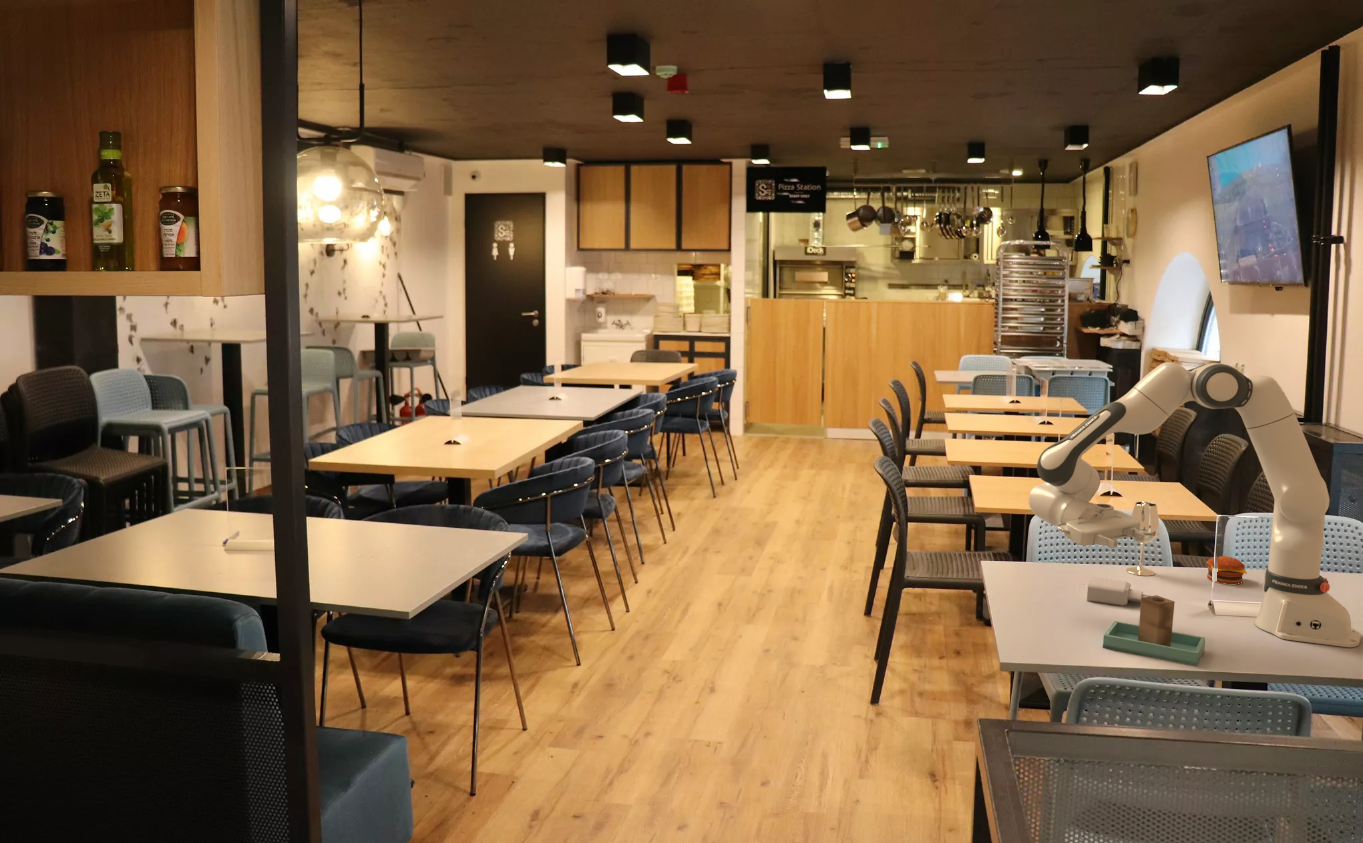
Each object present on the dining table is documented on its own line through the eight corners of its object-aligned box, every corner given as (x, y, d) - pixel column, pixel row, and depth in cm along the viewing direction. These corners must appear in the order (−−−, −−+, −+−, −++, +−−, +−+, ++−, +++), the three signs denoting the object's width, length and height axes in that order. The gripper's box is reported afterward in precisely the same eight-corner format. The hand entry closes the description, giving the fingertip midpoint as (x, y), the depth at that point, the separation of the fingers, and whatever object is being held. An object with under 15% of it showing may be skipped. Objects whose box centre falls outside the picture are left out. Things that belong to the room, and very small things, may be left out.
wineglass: (1119, 569, 322) (1125, 502, 319) (1139, 567, 325) (1145, 499, 322) (1140, 577, 315) (1146, 508, 312) (1161, 574, 318) (1167, 505, 315)
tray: (1204, 650, 259) (1205, 637, 258) (1196, 666, 249) (1197, 653, 248) (1113, 632, 269) (1114, 620, 269) (1102, 647, 259) (1103, 635, 259)
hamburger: (1237, 576, 318) (1240, 554, 316) (1246, 586, 308) (1249, 563, 307) (1202, 573, 320) (1204, 551, 318) (1210, 583, 310) (1212, 560, 309)
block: (1152, 640, 262) (1156, 594, 260) (1170, 647, 258) (1174, 600, 256) (1137, 643, 260) (1141, 597, 258) (1155, 650, 255) (1159, 603, 254)
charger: (1148, 611, 286) (1086, 602, 293) (1151, 601, 294) (1091, 592, 301) (1149, 593, 285) (1087, 584, 292) (1152, 584, 294) (1092, 575, 300)
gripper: (1055, 514, 271) (1100, 535, 259) (1113, 503, 280) (1160, 524, 269) (1051, 538, 272) (1095, 560, 261) (1109, 526, 282) (1154, 548, 271)
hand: (1129, 542), depth 265 cm, fingers open, 8 cm apart
